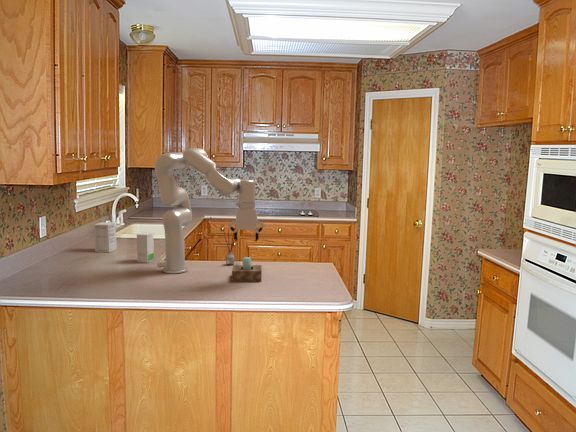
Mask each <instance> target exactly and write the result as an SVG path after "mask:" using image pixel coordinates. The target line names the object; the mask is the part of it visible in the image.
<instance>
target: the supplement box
mask: <svg viewBox="0 0 576 432" xmlns="http://www.w3.org/2000/svg"><path fill="white" fill-rule="evenodd" d="M116 233H117V230H116V222H109V221H108V222H105V221H101V222H98V223H95V224H93V234H94V251H95V253H112V252H114V251H116V250H117V249H118V248H117V234H116Z"/></svg>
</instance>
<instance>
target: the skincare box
mask: <svg viewBox="0 0 576 432" xmlns="http://www.w3.org/2000/svg"><path fill="white" fill-rule="evenodd" d="M154 241H155V240H154V232H140V233H137V234H136V251H137V254H136V255H137V257H136V258H137V263H142V264H143V263H144V264H148V263H150V262H153V261H155V250H154V249H155V247H154V245H155V244H154V243H155V242H154Z"/></svg>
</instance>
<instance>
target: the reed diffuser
mask: <svg viewBox="0 0 576 432" xmlns="http://www.w3.org/2000/svg"><path fill="white" fill-rule="evenodd" d="M222 231H223V233H224V239H225V243H226V245H227V250H228V253H227V255H225V264H226V265H234V264H235V265H241V263H240V261H235V255H234V254H233V250H232V249H233V245H234V241H235V240H234V238H232V239H231V243H232V244H230V246H229V243H228V241H227V238H228V240H230V234H229V232H227V235H228V236H227V237H226V233H225V230H224V228H222ZM232 237H234V232H233V234H232Z"/></svg>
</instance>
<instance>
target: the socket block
mask: <svg viewBox="0 0 576 432" xmlns="http://www.w3.org/2000/svg"><path fill="white" fill-rule="evenodd" d="M262 267H263V266H262V265H261V264H260V265H259V264H255V265H253V264H251V270H243V264H242V265H241V264H240V265H234V264H232V269H231V282H232V283H233V282H262V275H263V274H262V269H263V268H262Z"/></svg>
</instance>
